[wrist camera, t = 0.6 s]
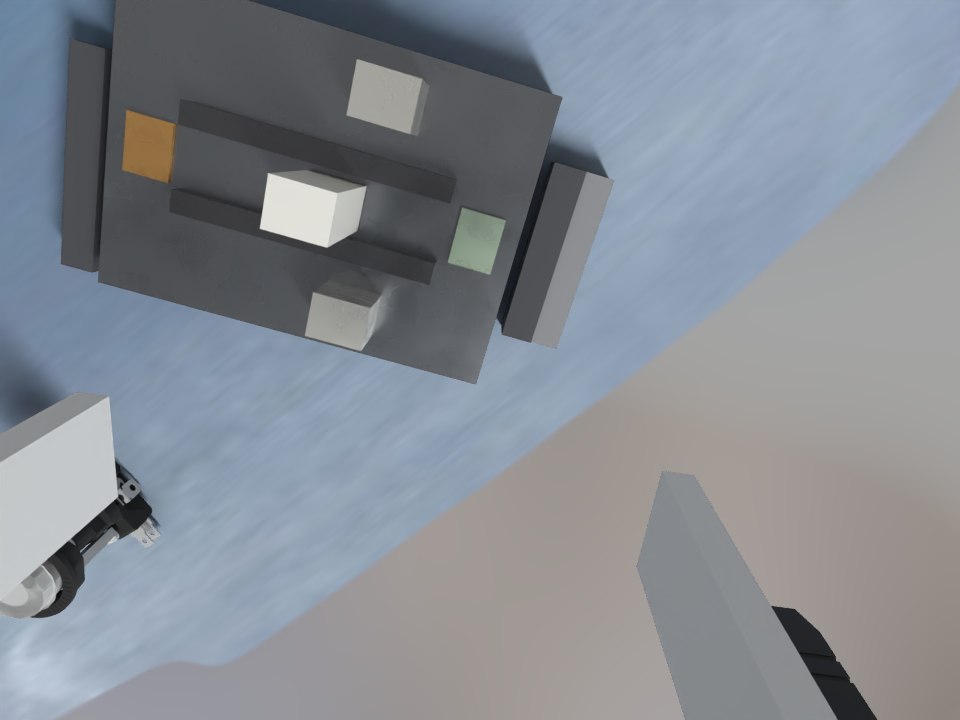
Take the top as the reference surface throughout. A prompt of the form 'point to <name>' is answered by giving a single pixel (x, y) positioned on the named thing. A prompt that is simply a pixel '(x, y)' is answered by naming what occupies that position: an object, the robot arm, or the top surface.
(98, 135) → the dark gray bar
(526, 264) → the narrow gray bar
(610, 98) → the top surface
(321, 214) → the lever
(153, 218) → the panel
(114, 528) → the push button
